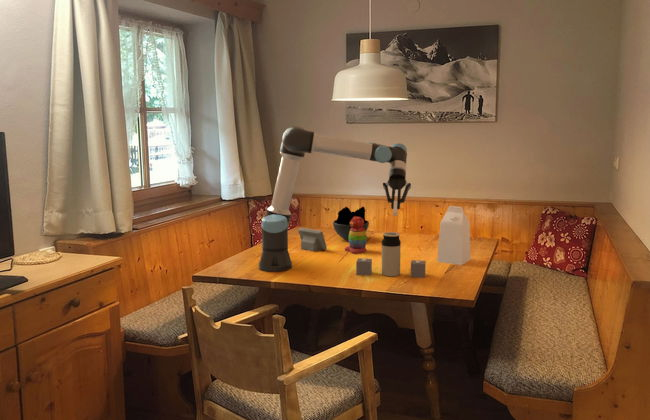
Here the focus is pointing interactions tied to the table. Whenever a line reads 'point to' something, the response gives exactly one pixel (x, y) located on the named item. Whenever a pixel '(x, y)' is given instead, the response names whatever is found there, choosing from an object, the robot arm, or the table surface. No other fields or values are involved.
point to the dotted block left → (363, 266)
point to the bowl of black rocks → (348, 221)
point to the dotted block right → (418, 268)
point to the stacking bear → (357, 236)
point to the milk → (454, 237)
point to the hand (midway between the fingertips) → (395, 214)
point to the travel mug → (391, 254)
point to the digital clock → (312, 240)
